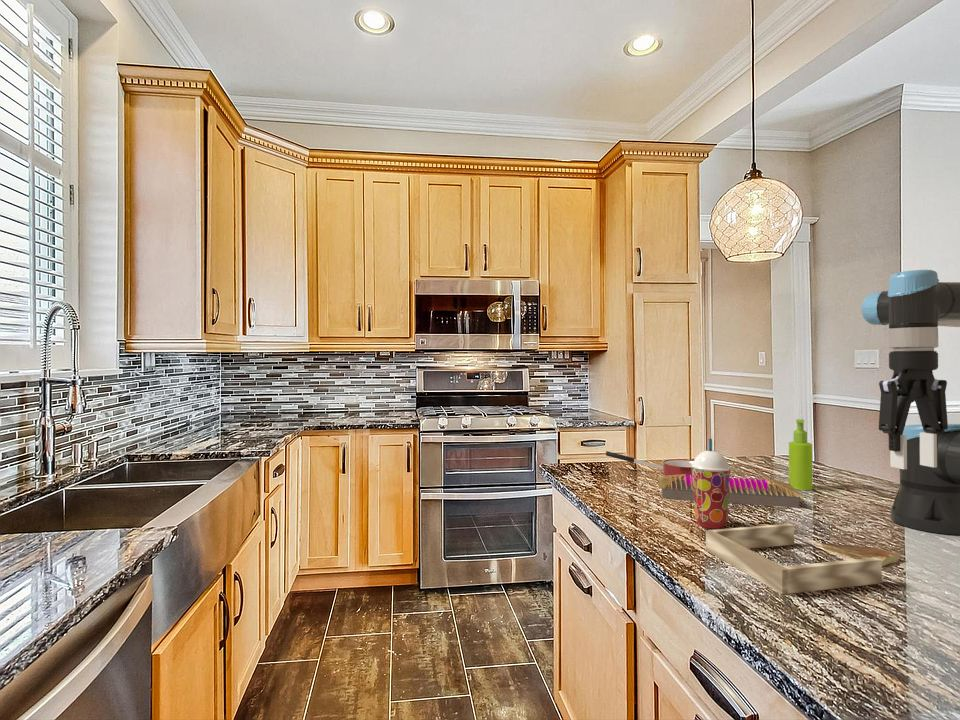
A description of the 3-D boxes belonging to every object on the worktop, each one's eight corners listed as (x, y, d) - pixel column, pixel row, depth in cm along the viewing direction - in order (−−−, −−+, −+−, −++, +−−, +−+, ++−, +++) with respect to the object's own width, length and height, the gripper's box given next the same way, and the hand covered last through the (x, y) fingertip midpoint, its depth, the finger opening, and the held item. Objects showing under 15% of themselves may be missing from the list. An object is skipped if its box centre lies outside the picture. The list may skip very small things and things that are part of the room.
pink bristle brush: (789, 496, 148) (789, 474, 148) (804, 510, 135) (804, 486, 135) (658, 488, 159) (658, 467, 159) (658, 500, 145) (658, 478, 145)
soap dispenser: (812, 486, 158) (812, 419, 158) (812, 491, 152) (811, 421, 152) (789, 483, 161) (789, 418, 161) (788, 488, 155) (788, 420, 155)
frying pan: (601, 474, 176) (601, 455, 176) (608, 467, 188) (607, 449, 188) (706, 482, 164) (706, 462, 164) (705, 473, 176) (705, 454, 176)
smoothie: (700, 517, 128) (700, 435, 128) (736, 525, 123) (736, 438, 122) (685, 525, 123) (684, 439, 123) (722, 533, 117) (721, 442, 117)
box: (789, 542, 111) (789, 523, 111) (881, 583, 91) (881, 559, 91) (705, 550, 107) (705, 530, 107) (782, 594, 87) (782, 570, 87)
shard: (820, 550, 107) (820, 541, 107) (843, 544, 111) (843, 535, 111) (880, 569, 98) (880, 559, 98) (903, 562, 101) (903, 552, 101)
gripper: (933, 349, 110) (933, 460, 110) (854, 350, 106) (855, 465, 106) (973, 349, 103) (973, 468, 103) (890, 350, 99) (891, 473, 99)
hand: (913, 466), depth 104 cm, fingers open, 6 cm apart
